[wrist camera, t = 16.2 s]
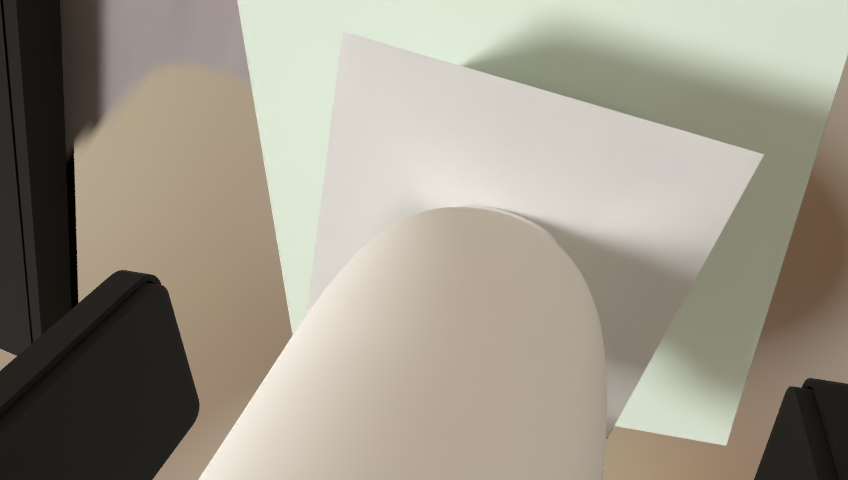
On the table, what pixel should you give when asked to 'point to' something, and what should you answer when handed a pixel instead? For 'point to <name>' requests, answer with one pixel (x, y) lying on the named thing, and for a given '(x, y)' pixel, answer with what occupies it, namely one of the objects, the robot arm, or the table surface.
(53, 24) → the vhs tape
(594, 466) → the figurine
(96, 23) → the table surface
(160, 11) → the table surface
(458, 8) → the mat
